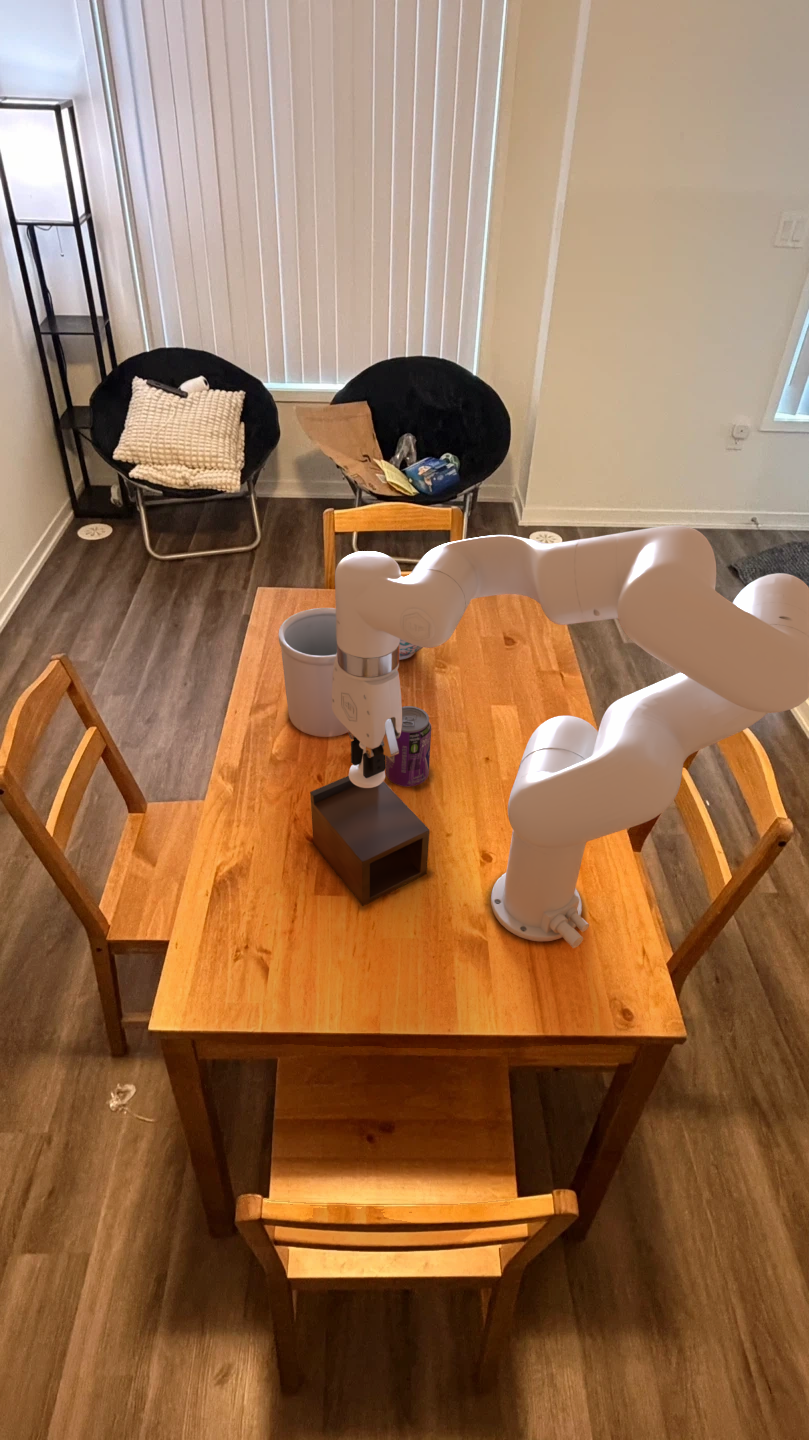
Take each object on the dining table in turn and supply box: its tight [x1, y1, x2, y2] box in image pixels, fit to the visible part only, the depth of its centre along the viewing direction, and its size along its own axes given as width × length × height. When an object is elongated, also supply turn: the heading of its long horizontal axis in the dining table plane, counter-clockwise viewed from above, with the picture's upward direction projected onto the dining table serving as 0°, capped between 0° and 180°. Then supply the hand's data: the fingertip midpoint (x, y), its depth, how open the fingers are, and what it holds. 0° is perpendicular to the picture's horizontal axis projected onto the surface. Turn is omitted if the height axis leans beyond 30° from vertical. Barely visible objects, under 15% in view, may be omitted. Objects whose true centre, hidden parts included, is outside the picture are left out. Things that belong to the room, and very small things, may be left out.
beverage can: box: [385, 705, 432, 787], centre depth 136 cm, size 7×7×12 cm
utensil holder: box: [277, 607, 348, 738], centre depth 147 cm, size 15×15×18 cm
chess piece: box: [348, 742, 386, 788], centre depth 112 cm, size 5×5×10 cm
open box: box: [309, 775, 430, 907], centre depth 122 cm, size 14×11×11 cm
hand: (368, 766), depth 114 cm, fingers closed on chess piece
